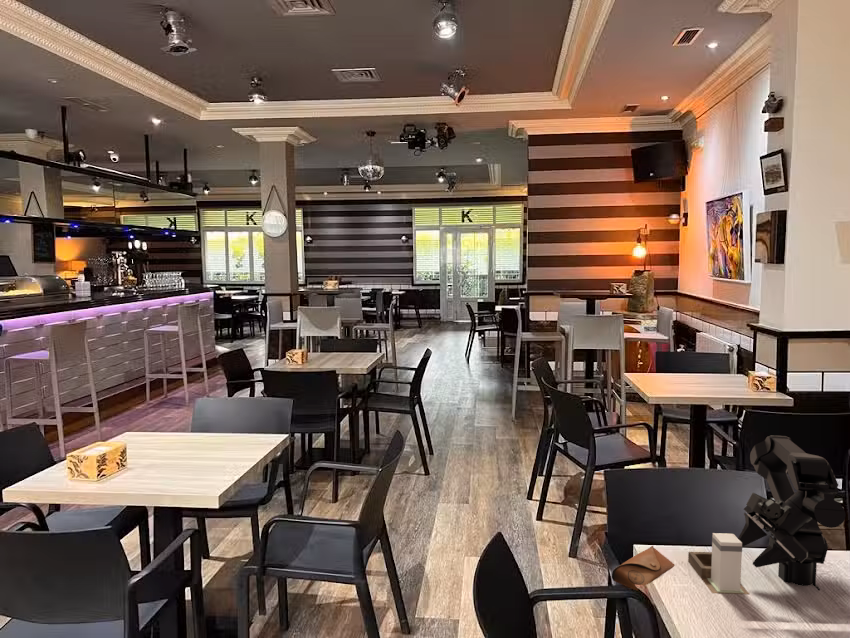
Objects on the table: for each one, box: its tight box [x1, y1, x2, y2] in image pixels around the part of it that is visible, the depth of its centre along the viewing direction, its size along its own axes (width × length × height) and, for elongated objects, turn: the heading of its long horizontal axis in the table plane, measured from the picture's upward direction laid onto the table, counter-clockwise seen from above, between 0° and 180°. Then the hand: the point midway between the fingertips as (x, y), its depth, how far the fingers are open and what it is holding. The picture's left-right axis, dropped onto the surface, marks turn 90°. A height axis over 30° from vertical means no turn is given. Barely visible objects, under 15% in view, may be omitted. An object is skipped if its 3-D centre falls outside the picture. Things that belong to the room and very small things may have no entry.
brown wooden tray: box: [687, 551, 750, 595], centre depth 136 cm, size 8×14×4 cm, turn 176°
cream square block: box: [711, 532, 743, 591], centre depth 132 cm, size 5×5×11 cm
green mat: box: [707, 578, 744, 594], centre depth 132 cm, size 6×6×1 cm
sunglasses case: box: [611, 545, 676, 591], centre depth 140 cm, size 18×7×7 cm
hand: (745, 555), depth 132 cm, fingers open, 9 cm apart
